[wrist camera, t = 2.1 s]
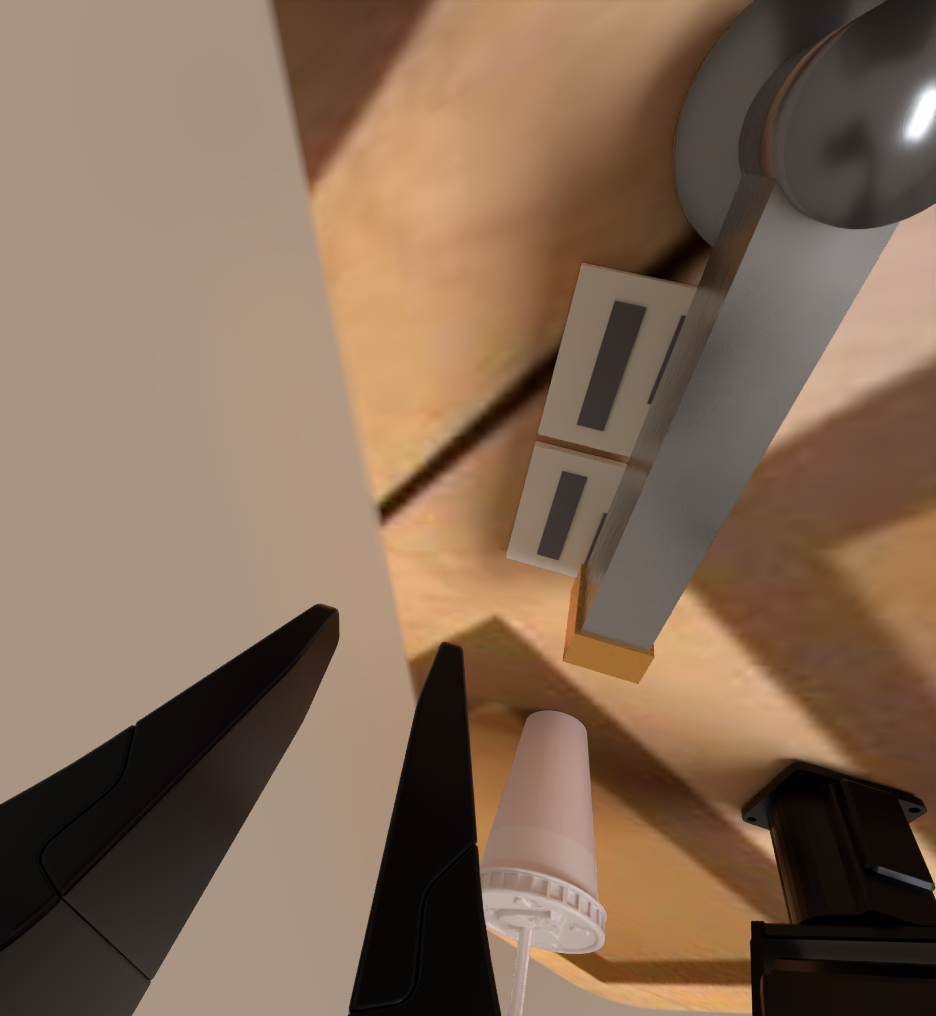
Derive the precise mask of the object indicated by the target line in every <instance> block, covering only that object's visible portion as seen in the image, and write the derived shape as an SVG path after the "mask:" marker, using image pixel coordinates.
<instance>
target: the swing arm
mask: <svg viewBox="0 0 936 1016" xmlns="http://www.w3.org/2000/svg"><path fill="white" fill-rule="evenodd" d="M738 159H739V165H740V170H741V173H742V177H741V180H740V182H739V185H738V187H737V190H736V192H735V195H734V197H733V200H732V202H731V205H730V207H729V210H728V212H727V215H726V217H725V220H724V222H723V225H722V227H721V230H720V233H719V235H718V238H717V240H716V243H715V245H714V248H713V250H712V253H711V255H710V258H709V260H708V263H707V265H706V268H705V270H704V273H703V275H702V278H701V280H700V283H699V285H698V288H697V290H696V293H695V295H694V298H693V300H692V303H691V305H690V308H689V310H688V313H687V315H686V318H685V320H684V323H683V325H682V328H681V330H680V333H679V336H678V338H677V341H676V343H675V346H674V348H673V351H672V353H671V356H670V358H669V361H668V363H667V366H666V368H665V371H664V373H663V376H662V378H661V381H660V383H659V386H658V388H657V391H656V393H655V396H654V398H653V401H652V403H651V406H650V408H649V411H648V413H647V416H646V418H645V421H644V423H643V426H642V428H641V431H640V433H639V436H638V439H637V441H636V444H635V446H634V449H633V451H632V454H631V456H630V459H629V461H628V464H627V466H626V469H625V471H624V474H623V476H622V479H621V481H620V484H619V486H618V489H617V491H616V494H615V496H614V499H613V501H612V504H611V506H610V509H609V511H608V514H607V516H606V519H605V521H604V524H603V526H602V529H601V531H600V534H599V536H598V539H597V542H596V544H595V547H594V549H593V552H592V554H591V557H590V559H589V562H588V564H587V565H585V564H581V567H580V569H579V572H578V574H577V577H576V579H575V582H574V585H573V587H572V590H571V597H570V605H569V613H568V622H567V630H566V638H565V647H564V655H563V661H564V662H567V663H570V664H574V665H577V666H580V667H584V668H587V669H590V670H594V671H597V672H600V673H604V674H607V675H610V676H614V677H617V678H620V679H624V680H627V681H630V682H633V683H637V684H638V683H639V682H640V680H641V678H642V677H643V675H644V673H645V672H646V670H647V669H648V667H649V665H650V664H651V662H652V660H653V659H654V642H655V640H656V638H657V636H658V635H659V633H660V631H661V630H662V628H663V626H664V624H665V623H666V621H667V619H668V618H669V616H670V614H671V612H672V611H673V609H674V607H675V606H676V604H677V602H678V600H679V599H680V597H681V595H682V594H683V592H684V590H685V588H686V587H687V585H688V583H689V582H690V580H691V578H692V576H693V575H694V573H695V571H696V570H697V568H698V566H699V564H700V563H701V561H702V559H703V558H704V556H705V554H706V553H707V551H708V549H709V547H710V546H711V544H712V542H713V541H714V539H715V537H716V535H717V534H718V532H719V530H720V529H721V527H722V525H723V523H724V522H725V520H726V518H727V517H728V515H729V513H730V511H731V510H732V508H733V506H734V505H735V503H736V501H737V499H738V498H739V496H740V494H741V493H742V491H743V489H744V487H745V486H746V484H747V482H748V481H749V479H750V477H751V475H752V474H753V472H754V470H755V469H756V467H757V465H758V464H759V462H760V460H761V458H762V457H763V455H764V453H765V452H766V450H767V448H768V446H769V445H770V443H771V441H772V440H773V438H774V436H775V434H776V433H777V431H778V429H779V428H780V426H781V424H782V422H783V421H784V419H785V417H786V416H787V414H788V412H789V410H790V409H791V407H792V405H793V404H794V402H795V400H796V398H797V397H798V395H799V393H800V392H801V390H802V388H803V386H804V385H805V383H806V381H807V380H808V378H809V376H810V375H811V373H812V371H813V369H814V368H815V366H816V364H817V363H818V361H819V359H820V357H821V356H822V354H823V352H824V351H825V349H826V347H827V345H828V344H829V342H830V340H831V339H832V337H833V335H834V333H835V332H836V330H837V328H838V327H839V325H840V323H841V321H842V320H843V318H844V316H845V315H846V313H847V311H848V309H849V308H850V306H851V304H852V303H853V301H854V299H855V297H856V296H857V294H858V292H859V291H860V289H861V287H862V286H863V284H864V282H865V280H866V279H867V277H868V275H869V274H870V272H871V270H872V268H873V267H874V265H875V263H876V262H877V260H878V258H879V256H880V255H881V253H882V251H883V250H884V248H885V246H886V244H887V243H888V241H889V239H890V238H891V236H892V234H893V232H894V231H895V229H896V227H897V226H898V224H899V222H900V221H901V220H904V219H907V218H909V217H911V216H913V215H915V214H917V213H919V212H922V211H923V210H925V209H927V208H928V207H930V206H932V205H933V204H935V203H936V0H887V1H885V2H883V3H881V4H880V5H878V6H876V7H875V8H873V9H871V10H869V11H868V12H866V13H864V14H862V15H861V16H859V17H857V18H856V19H854V20H852V21H850V22H849V23H847V24H845V25H844V26H842V27H840V28H838V29H837V30H835V31H833V32H831V33H830V34H828V35H826V36H825V37H823V38H821V39H819V40H818V41H816V42H814V43H812V44H811V45H809V46H807V47H806V48H804V49H802V50H800V51H799V52H797V53H796V54H794V55H793V56H791V57H790V58H789V59H788V60H786V61H785V62H784V63H783V64H782V65H780V66H779V67H778V68H777V69H776V70H775V71H774V72H773V73H772V74H771V76H770V77H769V78H768V79H767V80H766V82H765V83H764V84H763V85H762V87H761V88H760V90H759V91H758V93H757V94H756V96H755V98H754V99H753V101H752V103H751V105H750V107H749V109H748V111H747V114H746V116H745V119H744V122H743V125H742V128H741V133H740V137H739V146H738Z"/></svg>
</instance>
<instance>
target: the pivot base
mask: <svg viewBox="0 0 936 1016" xmlns="http://www.w3.org/2000/svg"><path fill="white" fill-rule="evenodd" d="M885 1H887V0H755V1H754V2H753V3H752V4H751V5H749V6H748V7H747V8H746V9H745V10H744V11H743V12H742V14H741V15H740V16H739V17H738V18H737V19H736V20H735V21H734V22H733V23H732V25H731V26H730V27H729V28H728V29H727V30H726V32H725V33H724V34H723V35H722V36H721V38H720V39H719V40H718V42H717V43H716V44H715V46H714V47H713V48H712V50H711V51H710V52H709V54H708V55H707V57H706V58H705V60H704V62H703V63H702V65H701V67H700V68H699V70H698V72H697V73H696V75H695V77H694V79H693V81H692V83H691V86H690V88H689V90H688V92H687V94H686V97H685V100H684V102H683V105H682V108H681V110H680V114H679V118H678V122H677V126H676V129H675V136H674V143H673V155H672V169H673V181H674V185H675V190H676V194H677V198H678V200H679V203H680V206H681V208H682V210H683V212H684V214H685V216H686V218H687V220H688V221H689V223H690V224H691V225H692V227H693V228H694V229H695V230H696V232H697V233H698V234H699V235H700V236H701V237H702V238H703V239H704V240H705V241H706V242H707V243H708V244H709V245H710V246H712V247H713V248H714V245H715V243H716V240H717V238H718V235H719V233H720V230H721V227H722V225H723V222H724V220H725V217H726V215H727V212H728V210H729V207H730V205H731V202H732V200H733V197H734V195H735V192H736V190H737V187H738V185H739V182H740V180H741V177H742V173H741V170H740V165H739V159H738V146H739V137H740V133H741V128H742V125H743V122H744V119H745V116H746V114H747V111H748V109H749V107H750V105H751V103H752V101H753V99H754V98H755V96H756V94H757V93H758V91H759V90H760V88H761V87H762V85H763V84H764V83H765V82H766V80H767V79H768V78H769V77H770V76H771V74H772V73H773V72H774V71H775V70H776V69H777V68H778V67H779V66H780V65H782V64H783V63H784V62H785V61H786V60H788V59H789V58H790V57H791V56H793V55H794V54H796V53H797V52H799V51H800V50H802V49H804V48H806V47H807V46H809V45H811V44H812V43H814V42H816V41H818V40H819V39H821V38H823V37H825V36H826V35H828V34H830V33H831V32H833V31H835V30H837V29H838V28H840V27H842V26H844V25H845V24H847V23H849V22H850V21H852V20H854V19H856V18H857V17H859V16H861V15H862V14H864V13H866V12H868V11H869V10H871V9H873V8H875V7H876V6H878V5H880V4H881V3H883V2H885Z"/></svg>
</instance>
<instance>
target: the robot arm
mask: <svg viewBox="0 0 936 1016" xmlns="http://www.w3.org/2000/svg"><path fill="white" fill-rule="evenodd" d="M338 641H339V612H338V610H337V609H336V608H334V607H330V606H327V605H324V604H316V605H314V606H313V607H311V608H310V609H308V610H306V611H305V612H303V613H302V614H300V615H299V616H297V617H296V618H294V619H293V620H291V621H290V622H288V623H287V624H285V625H284V626H282V627H281V628H279V629H278V630H276V631H274V632H273V633H271V634H270V635H269V636H267V637H265V638H264V639H262V640H261V641H259V642H258V643H256V644H255V645H253V646H252V647H250V648H249V649H247V650H246V651H244V652H243V653H241V654H240V655H238V656H236V657H235V658H233V659H232V660H230V661H229V662H227V663H226V664H224V665H223V666H221V667H220V668H218V669H217V670H215V671H214V672H212V673H211V674H209V675H208V676H206V677H205V678H203V679H202V680H200V681H199V682H197V683H195V684H194V685H192V686H191V687H189V688H188V689H186V690H185V691H183V692H182V693H180V694H179V695H177V696H176V697H174V698H173V699H171V700H170V701H168V702H167V703H165V704H164V705H162V706H161V707H159V708H157V709H156V710H154V711H153V712H151V713H150V714H149V715H147V716H145V717H144V718H142V719H141V720H139V721H138V722H137V723H136V725H135V726H130V727H128V728H127V729H125V730H124V731H122V732H121V733H119V734H118V735H116V736H115V737H113V738H112V739H110V740H109V741H107V742H105V743H104V744H102V745H101V746H99V747H98V748H96V749H94V750H93V751H91V752H89V753H88V754H86V755H85V756H83V757H82V758H80V759H78V760H77V761H75V762H74V763H72V764H70V765H69V766H67V767H65V768H63V769H62V770H60V771H58V772H56V773H55V774H53V775H51V776H50V777H48V778H46V779H44V780H43V781H41V782H39V783H38V784H36V785H34V786H32V787H31V788H29V789H27V790H25V791H23V792H22V793H20V794H18V795H16V796H15V797H13V798H11V799H9V800H7V801H6V802H4V803H2V804H0V1016H132V1014H133V1013H134V1011H135V1009H136V1008H137V1006H138V1004H139V1002H140V1000H141V999H142V997H143V996H144V994H145V992H146V990H147V988H148V987H149V985H150V983H151V981H150V980H152V979H153V978H154V976H155V975H156V973H157V971H158V969H159V968H160V966H161V964H162V963H163V961H164V959H165V957H166V956H167V954H168V952H169V951H170V949H171V947H172V945H173V944H174V942H175V940H176V939H177V937H178V935H179V933H180V932H181V930H182V928H183V927H184V925H185V923H186V921H187V920H188V918H189V916H190V915H191V913H192V911H193V909H194V907H195V906H196V904H197V902H198V901H199V899H200V897H201V896H202V894H203V892H204V890H205V889H206V887H207V885H208V884H209V882H210V880H211V878H212V877H213V875H214V873H215V872H216V870H217V868H218V867H219V865H220V863H221V861H222V860H223V858H224V856H225V854H226V853H227V851H228V849H229V848H230V846H231V844H232V842H233V841H234V839H235V837H236V836H237V834H238V832H239V831H240V829H241V827H242V825H243V824H244V822H245V820H246V819H247V817H248V815H249V813H250V812H251V810H252V808H253V807H254V805H255V803H256V801H257V800H258V798H259V796H260V795H261V793H262V791H263V790H264V788H265V786H266V784H267V783H268V781H269V779H270V778H271V776H272V774H273V772H274V771H275V769H276V767H277V766H278V764H279V762H280V760H281V759H282V757H283V755H284V753H285V752H286V750H287V748H288V747H289V745H290V743H291V742H292V740H293V738H294V736H295V735H296V733H297V731H298V729H299V728H300V726H301V724H302V722H303V720H304V718H305V716H306V714H307V712H308V710H309V708H310V705H311V703H312V701H313V699H314V696H315V694H316V692H317V690H318V687H319V685H320V683H321V681H322V678H323V676H324V674H325V672H326V670H327V667H328V665H329V663H330V661H331V658H332V656H333V654H334V652H335V649H336V647H337V644H338ZM926 812H927V809H926V807H925V805H924V802H923V801H922V800H921V799H919V798H916V797H913V796H910V795H906V794H903V793H900V792H897V791H893V790H890V789H887V788H884V787H880V786H877V785H874V784H871V783H868V782H864V781H861V780H858V779H855V778H851V777H848V776H845V775H842V774H838V773H835V772H832V771H829V770H825V769H822V768H819V767H816V766H812V765H809V764H806V763H794V764H792V765H790V766H789V767H788V768H787V769H786V770H785V771H784V772H783V773H781V774H780V775H779V776H778V777H777V778H776V779H775V780H774V781H773V782H772V783H770V784H769V785H768V786H767V787H766V788H765V789H764V790H763V791H762V792H761V793H759V794H758V795H757V796H756V797H755V798H754V799H753V800H752V801H751V802H749V803H748V804H747V805H746V806H745V807H744V808H743V809H742V810H741V814H742V819H743V821H745V822H747V823H750V824H753V825H756V826H759V827H762V828H765V829H768V830H770V834H771V839H772V844H773V848H774V853H775V858H776V862H777V867H778V872H779V876H780V881H781V886H782V890H783V895H784V900H785V904H786V909H787V914H788V918H789V923H790V924H784V923H764V922H763V921H751V940H750V951H751V984H752V1016H936V899H935V896H934V894H933V892H932V891H934V889H935V884H934V882H933V880H932V877H931V875H930V873H929V870H928V868H927V866H926V863H925V861H924V858H923V856H922V854H921V851H920V849H919V847H918V844H917V842H916V840H915V837H914V835H913V833H912V830H911V828H910V825H909V823H910V822H912V821H914V820H915V819H917V818H918V817H920V816H922V815H923V814H925V813H926ZM476 843H477V830H476V816H475V803H474V790H473V776H472V763H471V749H470V736H469V723H468V709H467V696H466V682H465V669H464V656H463V649H462V647H461V646H458V645H455V644H452V643H449V642H442V643H441V645H440V647H439V649H438V651H437V654H436V656H435V659H434V661H433V664H432V666H431V669H430V671H429V674H428V676H427V679H426V681H425V683H424V686H423V688H422V691H421V694H420V696H419V699H418V702H417V706H416V710H415V714H414V719H413V723H412V727H411V732H410V737H409V741H408V745H407V750H406V754H405V759H404V763H403V768H402V772H401V777H400V781H399V786H398V790H397V794H396V799H395V803H394V808H393V812H392V817H391V822H390V826H389V830H388V835H387V839H386V844H385V849H384V853H383V857H382V862H381V866H380V871H379V875H378V880H377V884H376V889H375V893H374V898H373V902H372V906H371V911H370V915H369V920H368V924H367V929H366V933H365V938H364V942H363V946H362V951H361V956H360V960H359V965H358V969H357V973H356V978H355V982H354V987H353V991H352V996H351V1000H350V1005H349V1015H348V1016H501V1012H500V1006H499V1001H498V995H497V989H496V984H495V978H494V973H493V967H492V962H491V955H490V949H489V943H488V937H487V930H486V923H485V917H484V908H483V898H482V888H481V879H480V867H479V854H478V846H477V845H476Z"/></svg>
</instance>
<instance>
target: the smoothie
mask: <svg viewBox="0 0 936 1016" xmlns="http://www.w3.org/2000/svg"><path fill="white" fill-rule="evenodd" d="M480 879H481V888H482V898H483V908H484V917H485V923H486V926H487V927H488V928H490V929H492V930H494V931H495V932H497V933H499V934H501V935H503V936H505V937H508V938H510V939H512V940H515V941H517V942H518V946H517V954H516V961H515V969H514V976H513V984H512V991H511V998H510V1006H509V1013H508V1016H522V1012H523V1003H524V995H525V986H526V977H527V969H528V961H529V952H530V946H532V947H535V948H539V949H543V950H547V951H553V952H559V953H568V954H583V953H590V952H593V951H596V950H598V949H599V948H601V947H602V946H603V944H604V942H605V923H606V922H607V916H606V911H605V910H604V908H603V907H602V905H601V903H600V902H599V900H598V882H597V864H596V854H595V839H594V825H593V811H592V796H591V782H590V768H589V754H588V739H587V730H586V728H585V727H584V725H583V724H582V723H581V722H580V721H579V720H577V719H576V718H574V717H573V716H571V715H568V714H566V713H563V712H559V711H553V710H543V711H537V712H534V713H532V714H531V715H529V716H528V717H527V719H526V722H525V725H524V728H523V731H522V734H521V737H520V741H519V744H518V747H517V750H516V753H515V756H514V760H513V763H512V766H511V769H510V772H509V775H508V779H507V782H506V785H505V788H504V791H503V794H502V798H501V801H500V804H499V807H498V810H497V813H496V816H495V820H494V823H493V826H492V829H491V832H490V835H489V838H488V841H487V844H486V848H485V851H484V854H483V858H482V861H481V864H480Z"/></svg>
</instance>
